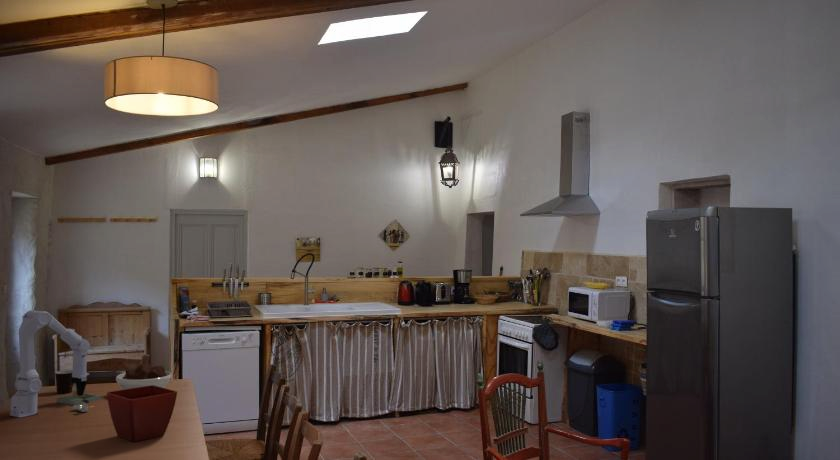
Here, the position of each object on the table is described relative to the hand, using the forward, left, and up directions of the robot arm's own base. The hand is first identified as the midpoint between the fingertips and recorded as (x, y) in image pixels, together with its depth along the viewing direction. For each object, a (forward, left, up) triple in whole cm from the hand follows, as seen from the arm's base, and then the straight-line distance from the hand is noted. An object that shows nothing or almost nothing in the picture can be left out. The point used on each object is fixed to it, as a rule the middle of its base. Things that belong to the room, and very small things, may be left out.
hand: (78, 394), depth 306 cm
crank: (-12, -18, -3) cm, 22 cm away
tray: (0, 0, -4) cm, 4 cm away
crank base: (-11, -15, -4) cm, 19 cm away
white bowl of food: (+26, -12, -4) cm, 29 cm away
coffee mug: (+11, +25, -4) cm, 28 cm away
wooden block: (0, 0, -1) cm, 1 cm away
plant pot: (-22, -68, -4) cm, 72 cm away
